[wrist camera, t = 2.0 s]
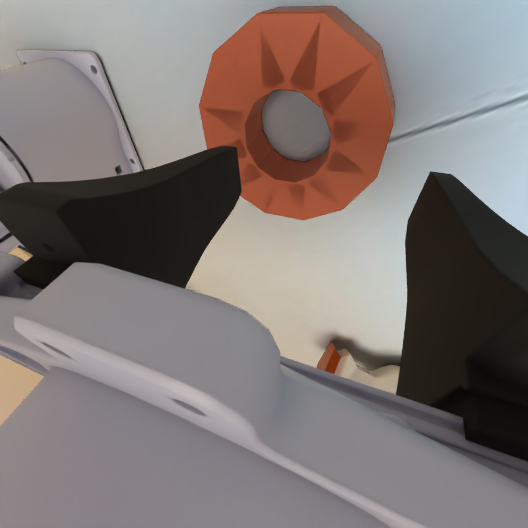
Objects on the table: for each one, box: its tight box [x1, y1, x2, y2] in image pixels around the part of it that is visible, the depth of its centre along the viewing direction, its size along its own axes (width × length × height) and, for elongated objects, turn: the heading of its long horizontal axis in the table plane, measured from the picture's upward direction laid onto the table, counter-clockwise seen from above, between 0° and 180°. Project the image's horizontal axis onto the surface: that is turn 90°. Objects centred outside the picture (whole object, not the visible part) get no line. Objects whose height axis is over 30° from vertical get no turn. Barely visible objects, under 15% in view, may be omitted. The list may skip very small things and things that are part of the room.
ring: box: [199, 6, 395, 220], centre depth 17 cm, size 11×11×3 cm
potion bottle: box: [317, 342, 400, 395], centre depth 33 cm, size 9×10×15 cm
